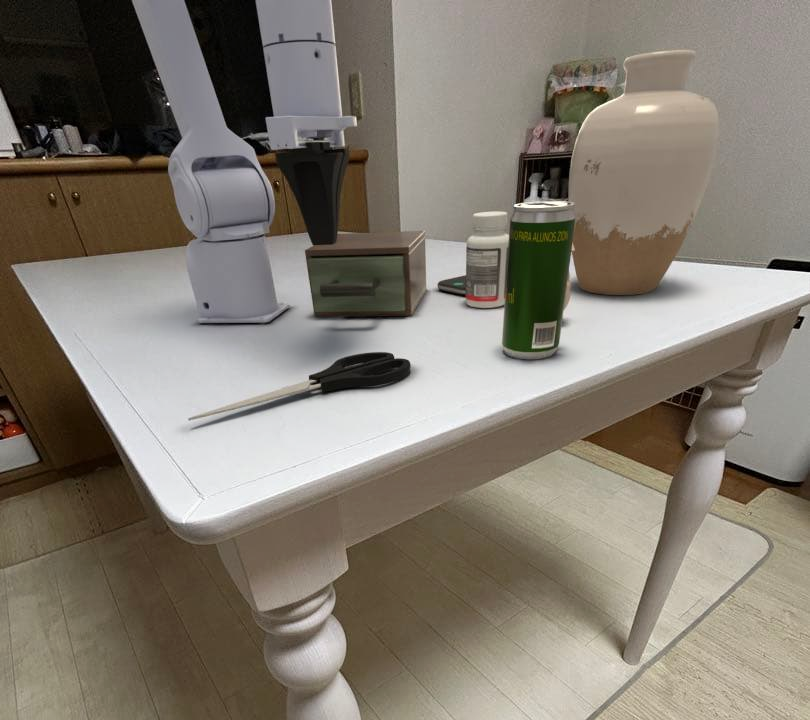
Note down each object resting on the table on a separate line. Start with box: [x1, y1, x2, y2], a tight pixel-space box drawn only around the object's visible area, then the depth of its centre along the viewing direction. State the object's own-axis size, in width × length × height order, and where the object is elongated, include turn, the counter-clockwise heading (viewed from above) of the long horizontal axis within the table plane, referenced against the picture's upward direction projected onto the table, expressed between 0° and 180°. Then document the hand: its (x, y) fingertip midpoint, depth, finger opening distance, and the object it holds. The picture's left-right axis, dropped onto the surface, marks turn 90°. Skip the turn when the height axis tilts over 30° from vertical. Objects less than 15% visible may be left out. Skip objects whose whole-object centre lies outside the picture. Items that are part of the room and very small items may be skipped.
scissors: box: [187, 351, 412, 421], centre depth 43 cm, size 7×1×20 cm
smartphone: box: [437, 274, 466, 296], centre depth 73 cm, size 8×1×15 cm
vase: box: [567, 49, 720, 296], centre depth 62 cm, size 16×16×23 cm
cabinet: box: [304, 230, 427, 318], centre depth 66 cm, size 13×12×7 cm
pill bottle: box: [465, 211, 509, 309], centre depth 62 cm, size 5×5×10 cm
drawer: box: [308, 254, 406, 312], centre depth 63 cm, size 17×11×6 cm, turn 170°
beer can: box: [501, 200, 576, 360], centre depth 46 cm, size 5×5×12 cm
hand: (324, 244), depth 49 cm, fingers closed
